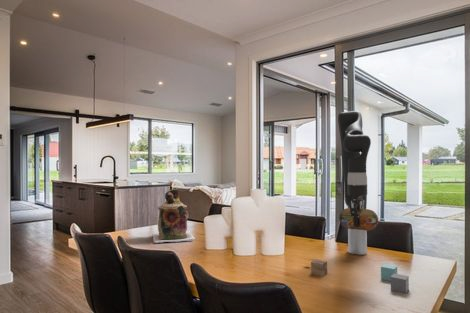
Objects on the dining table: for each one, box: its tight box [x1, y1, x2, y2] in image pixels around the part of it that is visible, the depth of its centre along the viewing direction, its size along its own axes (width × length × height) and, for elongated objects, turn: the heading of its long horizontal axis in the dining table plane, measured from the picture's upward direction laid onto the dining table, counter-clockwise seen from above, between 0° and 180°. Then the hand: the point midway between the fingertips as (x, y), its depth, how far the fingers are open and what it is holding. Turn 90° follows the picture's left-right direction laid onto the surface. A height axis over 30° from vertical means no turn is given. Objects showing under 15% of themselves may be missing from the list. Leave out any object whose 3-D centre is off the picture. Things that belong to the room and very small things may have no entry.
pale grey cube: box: [390, 273, 410, 295], centre depth 120 cm, size 5×5×5 cm
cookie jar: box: [152, 187, 195, 244], centre depth 208 cm, size 25×25×32 cm
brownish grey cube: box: [310, 259, 328, 277], centre depth 139 cm, size 5×5×5 cm
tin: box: [338, 207, 379, 232], centre depth 134 cm, size 15×3×8 cm, turn 52°
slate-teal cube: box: [380, 263, 398, 282], centre depth 132 cm, size 5×5×5 cm
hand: (357, 226), depth 134 cm, fingers closed on tin, 2 cm apart
